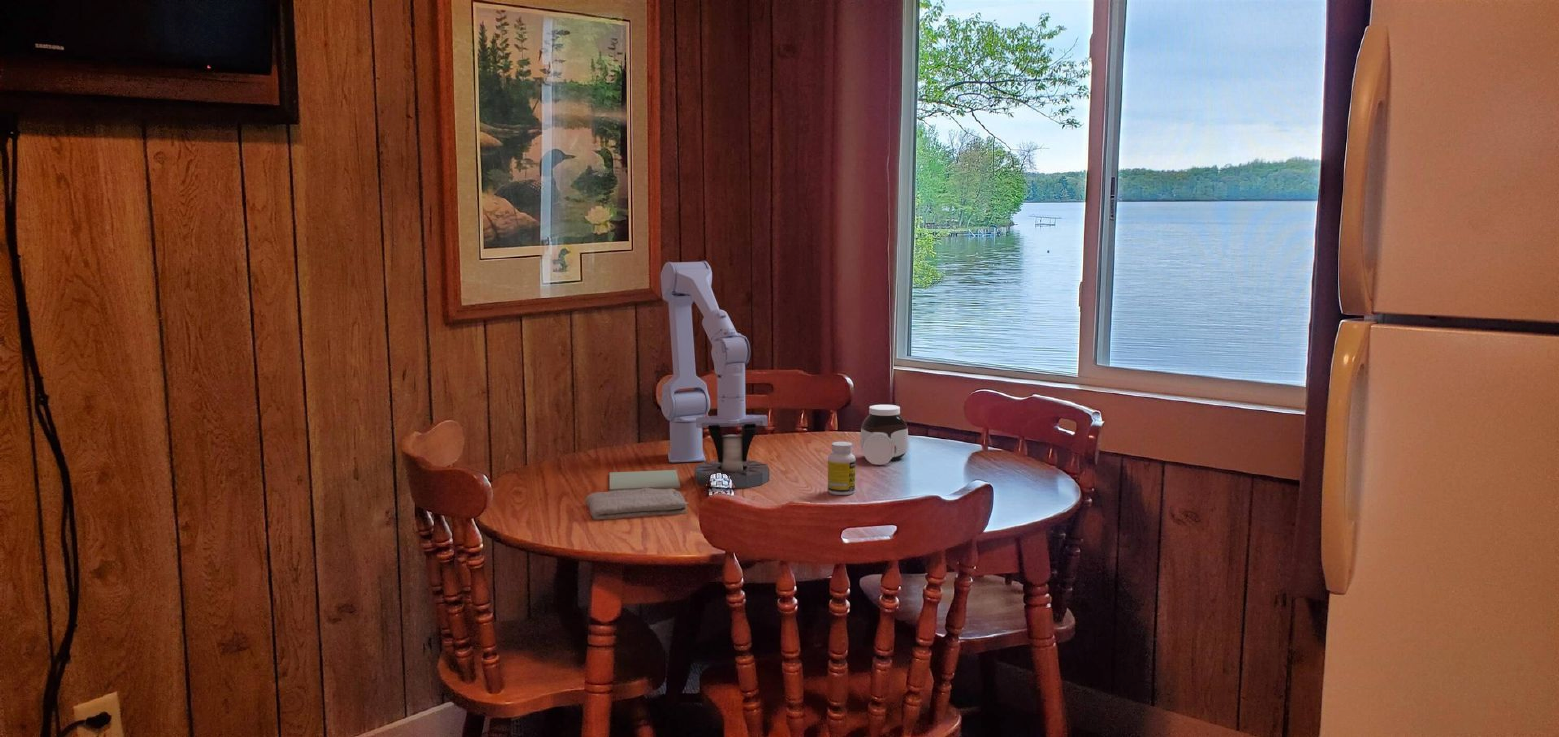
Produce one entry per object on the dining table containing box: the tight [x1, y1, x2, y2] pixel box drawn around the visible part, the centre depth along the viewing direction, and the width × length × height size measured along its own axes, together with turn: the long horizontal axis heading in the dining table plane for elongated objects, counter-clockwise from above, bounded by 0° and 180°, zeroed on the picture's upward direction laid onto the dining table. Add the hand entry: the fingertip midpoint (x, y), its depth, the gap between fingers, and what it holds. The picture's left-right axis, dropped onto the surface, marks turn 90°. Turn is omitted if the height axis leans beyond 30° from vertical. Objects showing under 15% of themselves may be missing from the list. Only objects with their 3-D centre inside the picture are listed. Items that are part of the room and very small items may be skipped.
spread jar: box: [860, 404, 909, 466], centre depth 240 cm, size 12×11×12 cm
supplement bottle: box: [827, 441, 856, 496], centre depth 212 cm, size 5×5×10 cm
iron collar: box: [694, 459, 770, 489], centre depth 224 cm, size 15×15×2 cm
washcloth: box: [585, 488, 689, 521], centre depth 202 cm, size 12×18×3 cm, turn 106°
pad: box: [609, 469, 681, 492], centre depth 223 cm, size 14×14×1 cm
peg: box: [721, 434, 743, 471], centre depth 223 cm, size 4×4×9 cm
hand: (732, 461), depth 223 cm, fingers closed on peg, 4 cm apart
